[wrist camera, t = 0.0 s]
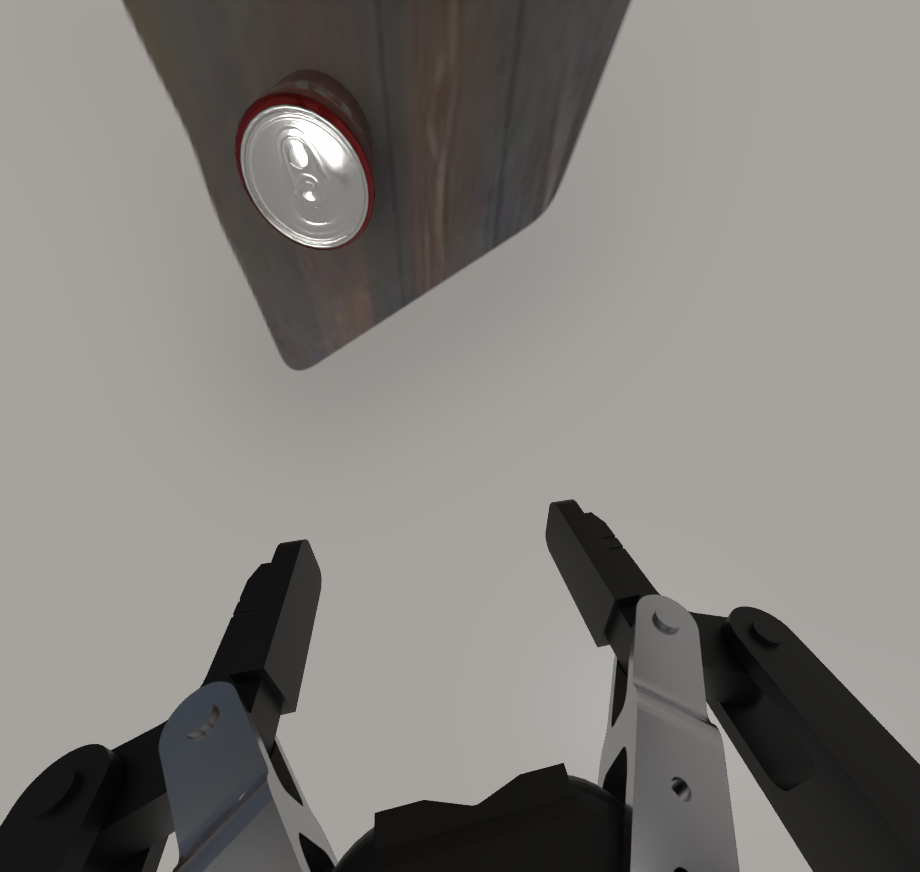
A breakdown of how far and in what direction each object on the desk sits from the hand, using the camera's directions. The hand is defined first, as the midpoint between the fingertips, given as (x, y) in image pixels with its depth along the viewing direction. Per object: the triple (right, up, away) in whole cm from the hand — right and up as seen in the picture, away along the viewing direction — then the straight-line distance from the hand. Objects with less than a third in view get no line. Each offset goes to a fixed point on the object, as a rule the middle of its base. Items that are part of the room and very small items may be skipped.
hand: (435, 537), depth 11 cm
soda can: (-10, +27, +15) cm, 32 cm away
